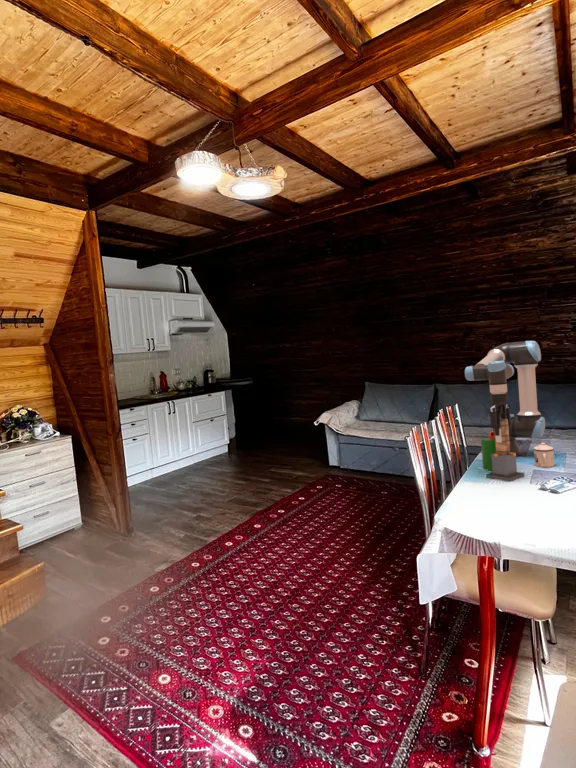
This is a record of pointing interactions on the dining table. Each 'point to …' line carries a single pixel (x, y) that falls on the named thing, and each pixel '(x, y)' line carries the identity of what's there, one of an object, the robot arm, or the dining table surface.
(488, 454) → the motor
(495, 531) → the dining table surface
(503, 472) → the stand base
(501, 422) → the column
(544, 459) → the teacup with lid
